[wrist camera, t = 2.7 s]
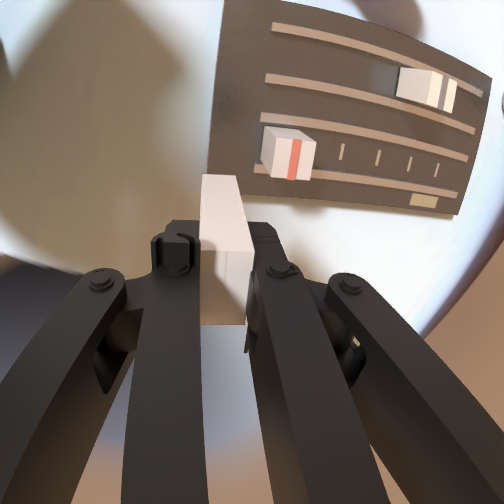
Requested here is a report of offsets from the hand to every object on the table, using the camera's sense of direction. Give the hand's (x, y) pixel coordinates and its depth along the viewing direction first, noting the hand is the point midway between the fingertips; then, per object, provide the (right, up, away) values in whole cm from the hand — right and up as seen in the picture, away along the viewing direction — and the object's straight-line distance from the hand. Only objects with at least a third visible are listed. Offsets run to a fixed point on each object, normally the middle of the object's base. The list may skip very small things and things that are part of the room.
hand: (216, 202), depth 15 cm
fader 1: (+4, +7, +12) cm, 15 cm away
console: (+13, +11, +13) cm, 22 cm away
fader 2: (+17, +14, +10) cm, 24 cm away
